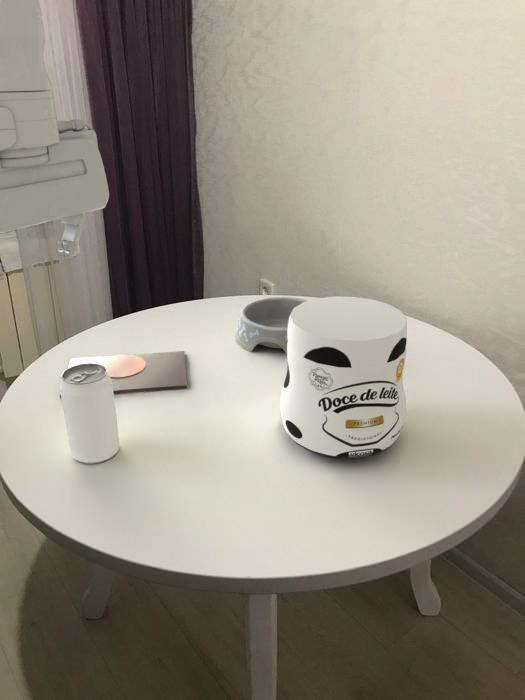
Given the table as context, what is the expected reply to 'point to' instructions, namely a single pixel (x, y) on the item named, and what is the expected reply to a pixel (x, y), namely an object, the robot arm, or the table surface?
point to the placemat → (142, 371)
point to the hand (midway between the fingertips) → (33, 268)
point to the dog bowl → (266, 322)
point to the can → (90, 413)
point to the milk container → (344, 376)
